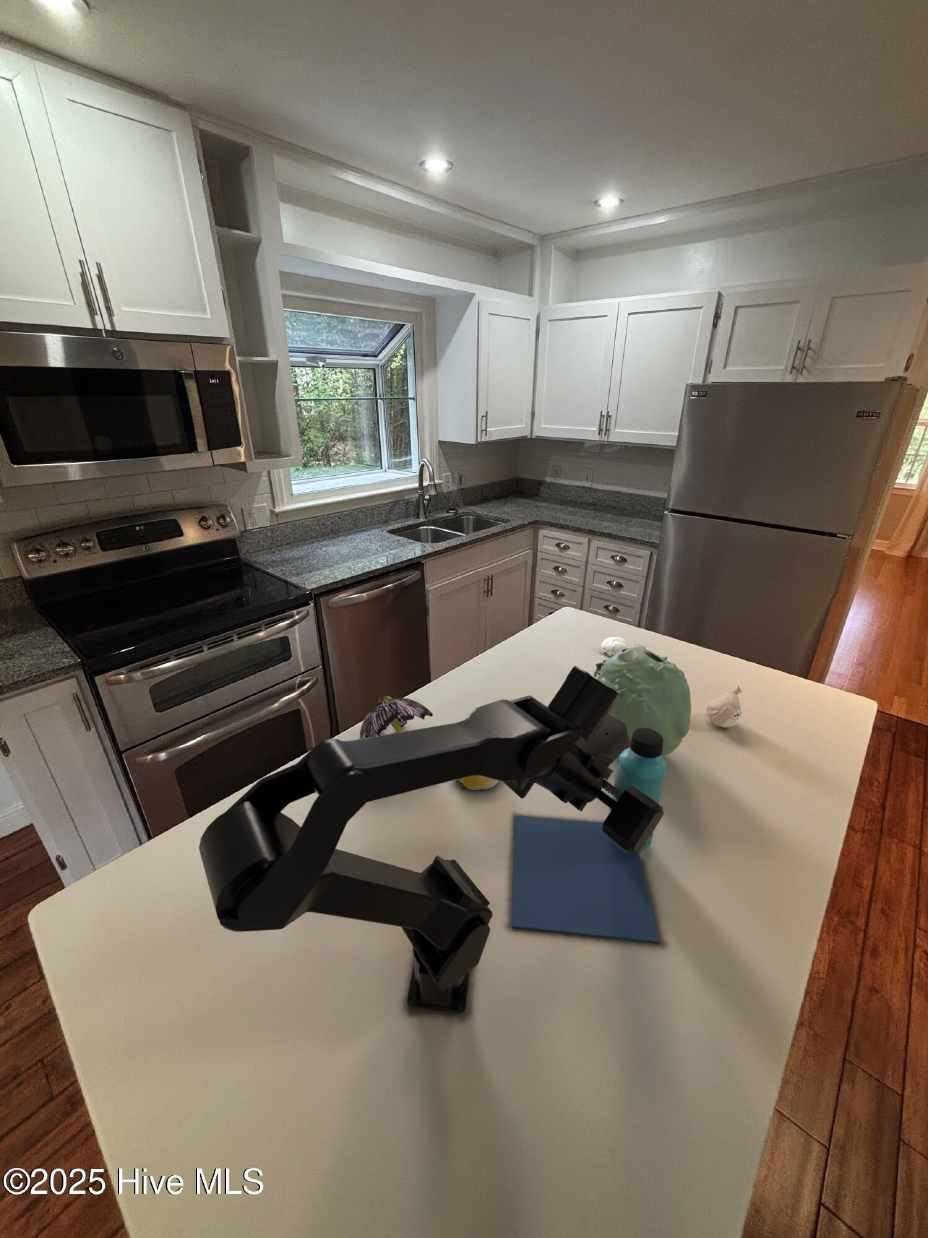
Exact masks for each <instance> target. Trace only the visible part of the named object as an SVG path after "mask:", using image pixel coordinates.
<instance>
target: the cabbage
mask: <svg viewBox="0 0 928 1238" xmlns="http://www.w3.org/2000/svg"><path fill="white" fill-rule="evenodd" d="M610 655H611V656H612V657H611V656H609V657H608V658H607V659H606V658H605V659H602V662H603V665H602V667H601V671H597V672H595V671H594V672H593V674H594V673H595V674H597V678H596V679H597V680H598V681H600V682H601V683H603V684H605V685H606V686H608V687H610V688H612V689H614V690H615V691H616V692H617V693H618V694H619V695H620V696H619V698H618V699H617V701H616V702H615V704H614V705H613V707H612V708H611V710H610V711H609V714H610V715H612V716H614V717H615V718H617V719H619V720H620V721H622V722H623V723H625V725H626V727H627V731H628V735H629V739H630V740H631V737H632V734H633V732H634V731H635V730H636V729H638V728H649V729H652V730H655V731H657V732H658V733H659V734H660V735H661V736H662V737H663V751H662V754H661V757H662V758H664V757H666V756H667V755H669V754H671V753H673V752H674V751H676V750H677V749H678V748H679V747H680V745H681V744H682V741H683V739H684V738H685V737H686V736H687V735H688V733H689V732H690V727H691V715H692V701H691V699H692V697H691V689H690V686H689V684H688V680H687V678H686V675H685V673H684V671H683V670H682V669H680V668H679V667H678V666H677V665H676V663H674V662H670V661H669V660H668V656H660V655H658V654H656V653H654V652H653V651H651V650H649V649H647V648H646V646H645V645H643V644H635V645H634V646H633V647H630V648H628V647H627V648H623V649H622V650H620V651H618V652H617V654H610ZM629 747H630V745H629ZM629 747H628V748H629Z"/></svg>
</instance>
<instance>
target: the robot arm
mask: <svg viewBox="0 0 928 1238" xmlns="http://www.w3.org/2000/svg"><path fill="white" fill-rule="evenodd" d="M597 679H598V678H596V677H594V676H593V675H592V674H591V673H589V672H588V671H586V670H584V669H583V668H580V667H579V666H577V665H574V666H572V668H571V670H570V671H569V673H568V674H567V675H566V678H565V679H564V682H563V683H562V685H561V686H560V687H559V689H558V691H557V692H556V693H555V695H554V697H553V698H552V699H551V701H550V702H549V704H548V705H545V704H544V703H543V702H541V700H540V701H539V700H538V699H537V698H535V697H533V695H525V696H523V697H522V696H521V697H519V698H514V699H510V700H509V699H499V700H496V701H493V702H490V703H486V704H483V705H480V706H478V707H477V706H476V708H474V709H473V710H471V712H470V713H469V714H467V716H466V718H464V719H463V720H460V721H457V722H453V723H447V724H441V725H436V726H435V725H434V726H430V727H424V728H417V729H412V730H411V729H410V730H405V731H404V732H399V733H397V732H395V733H394V732H393V733H388V734H382V735H381V734H380V736H375V737H369V738H363V739H360V738H358V739H352V740H340V739H339V738H329V739H328V738H327V739H325V740H323V741H320V742H319V743H317V744H316V745H314V747H312V748H311V750H310V751H308V752H307V753H306V754H305V755H304V756H303V757H302V758H301V759H300V760H299V761H298V762H296V763H294V764H292V765H289V766H288V767H285V768H283V769H280V770H279V771H278V770H277V771H276V772H274V773H272V774H269V775H267V776H264V777H262V778H260V779H259V780H257V781H256V782H255V784H254V785H252V786H251V787H250V788H249V789H248V790H247V791H246V792H245V793H244V794H243V795H242V796H240V797H239V798H238V799H237V800H236V801H235V802H234V803H233V804H232V805H231V806H230V807H229V808H227V810H226V811H224V812H223V813H221V814H219V815H218V816H217V817H215V818H214V820H213V821H211V823H209V825H208V826H206V828H205V830H204V831H203V832H202V833H203V834H202V835H201V836H200V840H199V845H198V851H199V855H200V859H201V862H202V866H203V869H204V870H203V871H204V873H205V877H206V880H207V884H208V885H207V886H208V888H209V891H210V896H211V900H212V903H213V906H214V910H215V913H216V914H215V915H216V918H217V920H218V921H219V925H220V926H222V927H223V928H224V929H225V930H228V931H231V932H234V933H236V932H237V933H244V932H245V933H246V932H261V931H263V932H264V931H278V930H283V929H285V928H286V927H287V926H289V925H290V924H292V923H293V922H295V921H296V920H298V919H299V918H300V917H302V916H303V915H305V914H306V913H313V914H319V915H326V916H332V917H337V918H344V919H351V920H357V921H363V922H367V923H374V924H381V925H386V926H387V925H388V926H393V927H399V928H401V929H402V931H403V932H404V934H405V936H406V937H407V939H408V941H409V943H410V944H411V946H412V951H413V952H412V955H413V967H412V972H411V977H410V983H409V988H408V993H407V998H406V1004H407V1006H408V1007H409V1008H415V1009H423V1010H430V1011H439V1012H447V1013H454V1014H464V1013H465V1012H466V1010H467V1002H468V991H469V982H470V971H471V970H473V969H474V968H475V967H477V966H478V965H479V963H480V962H481V961H480V960H481V958H482V955H483V952H484V949H485V948H486V944H487V941H488V938H489V936H490V932H491V927H490V925H489V924H490V921H491V919H492V918H493V911H492V910H491V909H490V907H489V905H490V903H491V902H490V901H489V900H488V898H487V897H486V896H485V894H483V892H482V891H481V890H480V889H479V888H478V887H477V885H476V884H475V882H473V880H472V878H470V876H469V874H467V872H466V871H465V870H464V869H463V868H462V867H461V865H460V864H459V863H458V862H457V860H456V859H454V858H453V859H444V858H443V857H441V856H440V855H439V854H438V855H436V856H435V857H434V859H433V861H432V862H431V863H429V865H427V866H426V867H425V868H424V869H423V870H422V871H420V872H418V871H414V870H411V869H408V868H404V867H401V866H397V865H394V864H390V863H387V862H383V861H380V860H376V859H373V858H369V857H366V856H363V855H359V854H356V853H352V852H349V851H345V850H342V849H338V848H337V846H338V844H339V841H340V840H341V838H342V835H343V833H344V831H345V828H346V827H347V824H348V822H349V821H350V820H351V819H352V818H353V817H354V816H355V815H356V814H357V813H358V812H359V811H360V810H361V809H362V808H363V807H364V806H366V804H367V803H372V802H375V801H378V800H382V799H387V798H390V797H395V796H397V795H402V794H406V793H409V792H414V791H417V790H421V789H425V788H430V787H433V786H437V785H442V784H445V783H448V782H449V783H450V782H454V781H458V779H461V778H465V777H469V776H483V777H487V778H491V779H494V780H498V782H502V783H503V784H504V785H506V786H507V787H508V788H509V790H511V791H512V792H513V793H514V794H515V795H516V796H518V797H519V798H520V799H525V798H526V797H527V796H528V794H529V792H530V791H531V789H532V788H533V786H534V784H536V785H538V786H540V787H542V788H544V789H545V790H547V791H549V792H550V793H551V794H552V795H554V797H556V798H557V799H559V801H561V802H562V803H564V804H568V803H569V804H570V805H571V806H573V807H574V808H575V809H577V811H579V812H583V810H584V809H585V808H586V806H587V804H588V803H589V804H590V803H592V802H593V801H595V799H597V800H598V801H600V802H601V803H602V804H604V805H605V806H607V807H608V808H609V810H610V809H612V810H610V811H611V812H608V815H607V816H606V818H605V819H604V821H603V822H602V823H603V829H602V831H603V832H604V833H605V834H606V835H608V836H609V837H610V838H611V839H612V840H614V841H615V842H616V843H617V844H619V845H620V846H621V847H622V848H623V849H625V850H626V851H627V852H630V853H632V854H635V853H639V854H641V853H640V851H641V850H642V848H643V846H644V845H645V843H646V842H647V840H648V839H649V837H650V836H651V834H652V832H653V833H654V832H655V830H656V828H657V827H658V825H659V823H660V821H661V820H662V818H663V817H664V816H665V811H664V807H663V805H661V804H660V803H659V804H658V803H657V802H655V801H654V800H653V799H651V798H650V797H648V796H647V795H646V794H644V793H643V792H641V791H640V790H638V789H637V788H636V787H634V786H633V785H631V786H630V787H628V788H627V789H625V790H624V792H621V791H620V790H618V789H617V788H616V787H615V785H614V784H612V783H610V782H609V781H608V780H609V779H610V776H611V775H612V774H613V772H614V771H613V770H612V769H611V768H610V765H611V764H613V763H614V762H615V761H616V759H618V758H619V756H620V754H621V753H622V752H623V751H624V750H625V749H627V748H628V747H629V745H630V739H629V735H628V731H627V727H626V725H625V723H623V722H622V721H620V720H619V719H617V718H615V717H614V716H612V715H610V714H609V711H610V710H611V708H612V707H613V705H614V704H615V702H616V701H617V699H618V698H619V696H620V695H619V694H618V693H617V692H616V691H615V690H614V689H612V688H610V687H608V686H606V685H605V684H603V683H601V682H600V681H598V680H597ZM603 790H604V791H603ZM605 792H607V793H605ZM313 794H317V797H316V799H314V801H313V803H312V804H311V807H310V809H309V811H308V813H307V814H306V817H305V819H304V821H303V822H302V824H301V826H300V825H299V824H298V823H297V822H296V821H295V820H294V819H292V818H291V817H290V816H288V815H286V814H284V813H283V812H282V811H283V810H284V809H285V808H286V807H287V806H289V805H290V804H291V803H294V802H296V801H299V800H301V799H303V798H306V797H308V796H310V795H313ZM609 794H610V795H609ZM613 794H614V795H613ZM613 797H616V799H617V800H618V799H619V800H618V801H617V802H616V801H615V800H614V799H613ZM411 1000H413V1001H412V1002H411ZM460 1007H462V1008H460Z"/></svg>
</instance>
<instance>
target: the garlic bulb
mask: <svg viewBox="0 0 928 1238" xmlns="http://www.w3.org/2000/svg"><path fill="white" fill-rule="evenodd" d="M742 693H743V691H742V689H741V688H740V686H739V685H737V686H736V687H735V688H734V690H733V691H727V692H725V693H722V694H721V695H720V696H718V697H715V698H712V699H710V700H709V702H708V703H707V705H706V709H705V712H706V716H707V718H708V719H709V721H710V722H711V723H712V724H713V725H714V726H717V727H720V728H732V727H733V726H735V725H736V724H737V723H738V722H739V720H740V719H741V717H742V716H741V715H742V709H741V705H740V703H741V702H740V699H739V694H742Z"/></svg>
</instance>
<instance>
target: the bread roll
mask: <svg viewBox="0 0 928 1238" xmlns="http://www.w3.org/2000/svg"><path fill="white" fill-rule="evenodd" d="M457 781H459V782H460V783H462V785H463V786H464V787H466V788H467V789H469V790H472V791H479V790H487V789H492V788H493V787H495V786H496V785H497V784H498V783H499V781H498V780H494V779H491V778H487V777H483V776H469V777H465V778H461V779H457Z"/></svg>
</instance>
